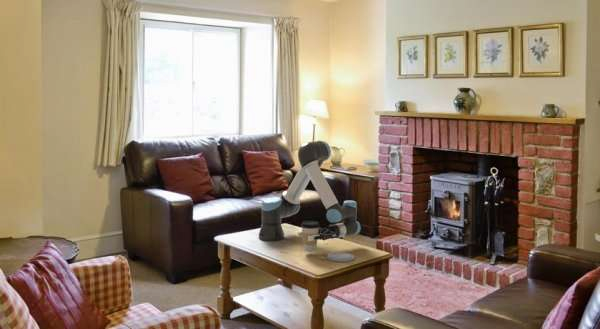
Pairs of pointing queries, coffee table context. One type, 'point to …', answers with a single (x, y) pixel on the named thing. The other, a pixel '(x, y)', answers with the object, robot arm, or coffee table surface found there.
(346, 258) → the saucer
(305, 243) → the coffee cup
